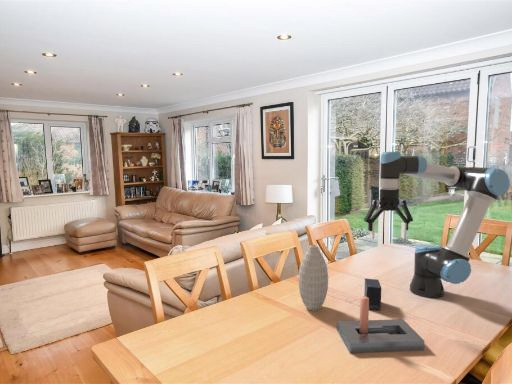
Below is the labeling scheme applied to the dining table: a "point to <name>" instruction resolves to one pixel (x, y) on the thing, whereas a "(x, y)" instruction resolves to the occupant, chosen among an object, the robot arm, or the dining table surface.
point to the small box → (373, 293)
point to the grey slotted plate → (379, 336)
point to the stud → (364, 315)
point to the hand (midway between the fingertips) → (387, 238)
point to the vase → (313, 279)
